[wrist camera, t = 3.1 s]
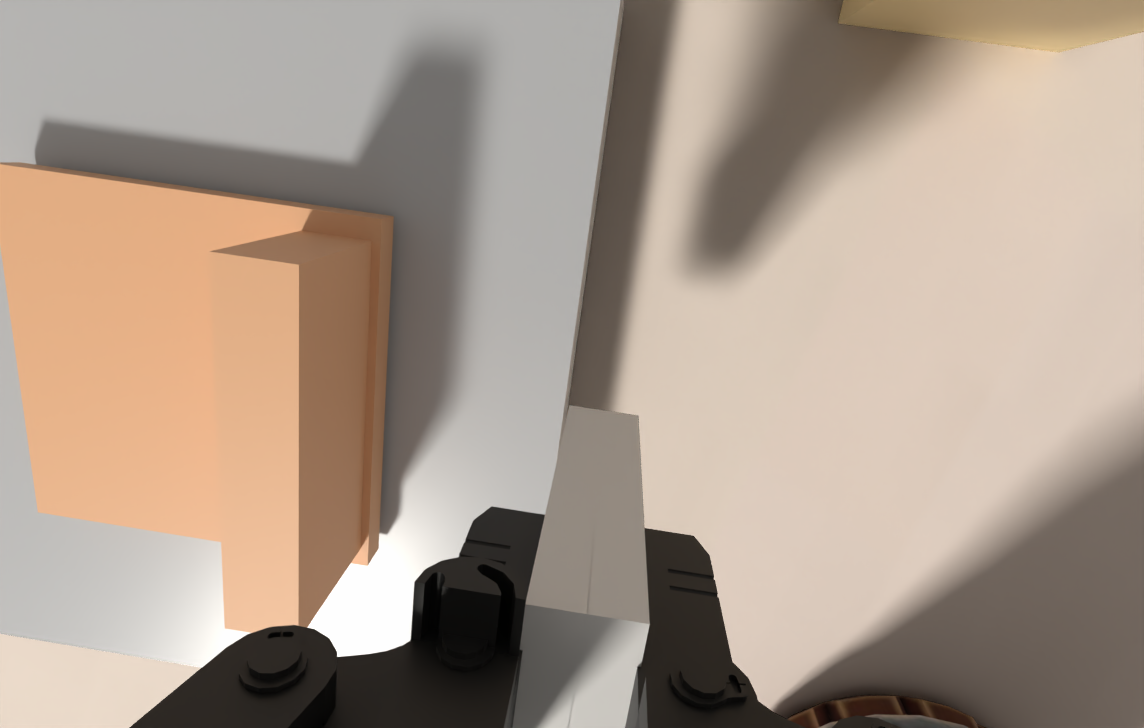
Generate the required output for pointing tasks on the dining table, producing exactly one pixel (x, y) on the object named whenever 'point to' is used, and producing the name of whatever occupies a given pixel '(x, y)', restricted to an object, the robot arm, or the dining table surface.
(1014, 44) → the plug
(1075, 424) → the dining table surface
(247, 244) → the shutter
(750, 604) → the dining table surface
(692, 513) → the dining table surface
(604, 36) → the socket
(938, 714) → the mug
